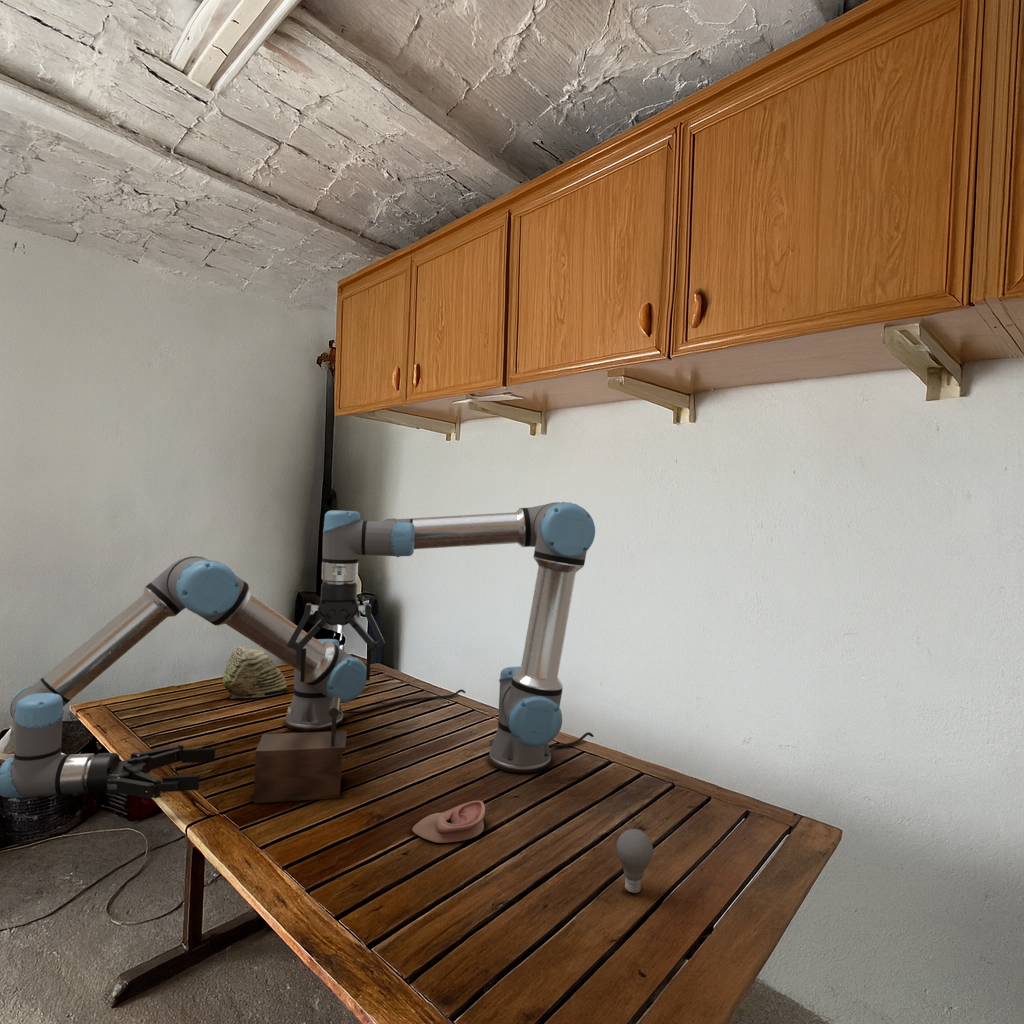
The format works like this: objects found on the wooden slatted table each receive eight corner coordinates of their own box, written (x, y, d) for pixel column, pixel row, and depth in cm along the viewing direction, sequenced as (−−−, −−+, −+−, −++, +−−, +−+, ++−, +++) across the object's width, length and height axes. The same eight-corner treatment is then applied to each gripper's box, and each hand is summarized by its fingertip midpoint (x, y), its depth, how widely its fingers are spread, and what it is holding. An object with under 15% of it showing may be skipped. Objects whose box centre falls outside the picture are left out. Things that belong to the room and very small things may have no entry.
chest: (341, 778, 143) (342, 736, 143) (339, 798, 134) (341, 753, 133) (261, 782, 139) (262, 739, 139) (253, 803, 130) (255, 756, 130)
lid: (346, 735, 143) (347, 694, 143) (344, 752, 134) (346, 708, 133) (262, 739, 139) (264, 696, 139) (255, 756, 130) (257, 711, 129)
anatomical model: (406, 817, 119) (427, 790, 130) (406, 838, 119) (426, 809, 130) (475, 827, 116) (490, 799, 127) (474, 849, 116) (489, 818, 127)
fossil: (218, 695, 195) (220, 647, 195) (278, 685, 208) (279, 640, 207) (228, 703, 189) (230, 653, 188) (289, 692, 201) (290, 645, 201)
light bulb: (610, 879, 108) (613, 822, 108) (644, 879, 109) (647, 822, 109) (619, 902, 102) (622, 840, 102) (655, 901, 103) (658, 840, 103)
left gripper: (116, 765, 139) (220, 761, 144) (63, 823, 115) (190, 815, 120) (117, 732, 139) (221, 728, 144) (64, 782, 115) (191, 776, 120)
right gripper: (276, 583, 130) (272, 685, 131) (398, 585, 136) (394, 683, 136) (280, 578, 138) (277, 675, 138) (397, 580, 143) (393, 673, 144)
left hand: (207, 767), depth 132 cm, fingers open, 13 cm apart
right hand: (335, 679), depth 137 cm, fingers open, 13 cm apart
